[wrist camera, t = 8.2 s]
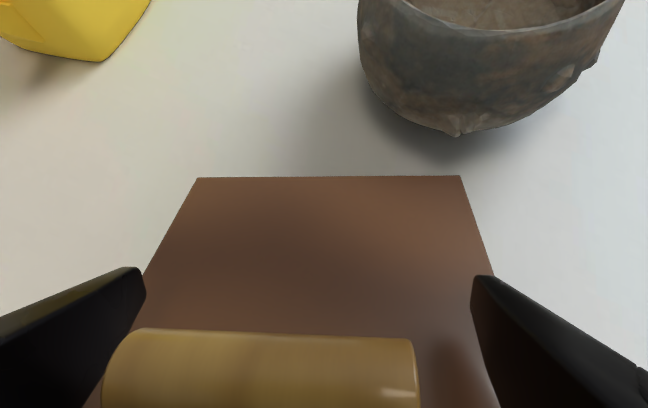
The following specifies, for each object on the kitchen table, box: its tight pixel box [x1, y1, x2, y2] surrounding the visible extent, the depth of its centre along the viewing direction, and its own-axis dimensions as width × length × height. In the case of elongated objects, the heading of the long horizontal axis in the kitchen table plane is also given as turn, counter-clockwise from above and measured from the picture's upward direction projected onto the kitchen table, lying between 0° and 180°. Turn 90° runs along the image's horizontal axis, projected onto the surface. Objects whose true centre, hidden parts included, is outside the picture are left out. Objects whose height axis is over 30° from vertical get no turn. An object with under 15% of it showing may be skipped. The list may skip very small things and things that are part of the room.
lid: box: [82, 175, 501, 408], centre depth 10 cm, size 11×12×4 cm
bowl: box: [357, 0, 625, 137], centre depth 21 cm, size 14×15×10 cm
